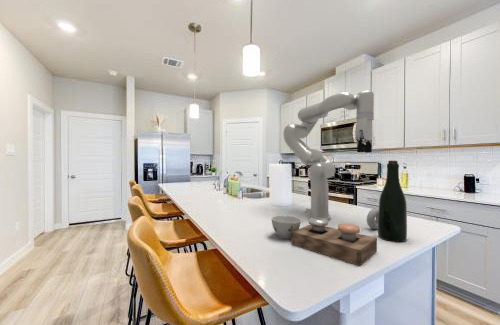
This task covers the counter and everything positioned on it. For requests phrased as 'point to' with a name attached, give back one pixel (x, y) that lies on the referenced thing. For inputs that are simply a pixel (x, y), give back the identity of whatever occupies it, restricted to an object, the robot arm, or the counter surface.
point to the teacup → (285, 225)
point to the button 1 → (318, 225)
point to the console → (336, 244)
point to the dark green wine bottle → (392, 207)
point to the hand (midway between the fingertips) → (364, 152)
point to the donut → (373, 218)
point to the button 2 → (348, 231)
